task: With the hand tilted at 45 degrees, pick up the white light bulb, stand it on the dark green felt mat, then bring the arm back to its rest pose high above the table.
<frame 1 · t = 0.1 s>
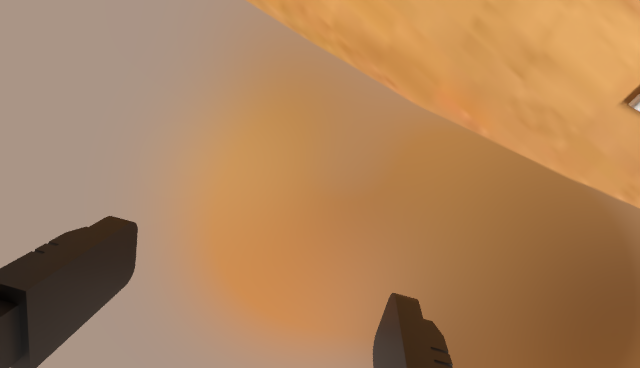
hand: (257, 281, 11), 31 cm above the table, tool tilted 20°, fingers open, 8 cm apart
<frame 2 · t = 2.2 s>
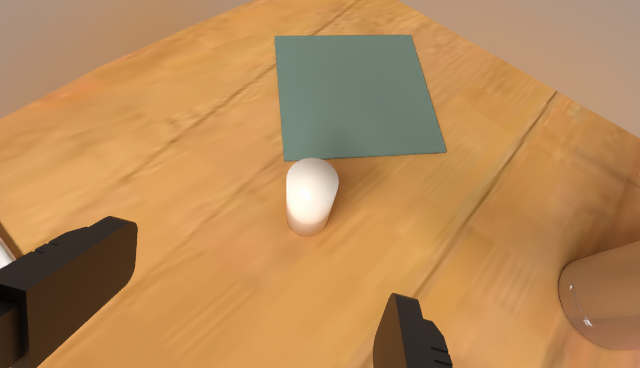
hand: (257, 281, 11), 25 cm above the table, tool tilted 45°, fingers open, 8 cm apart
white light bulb: (307, 216, 38), on the table
felt mat: (354, 91, 46), on the table
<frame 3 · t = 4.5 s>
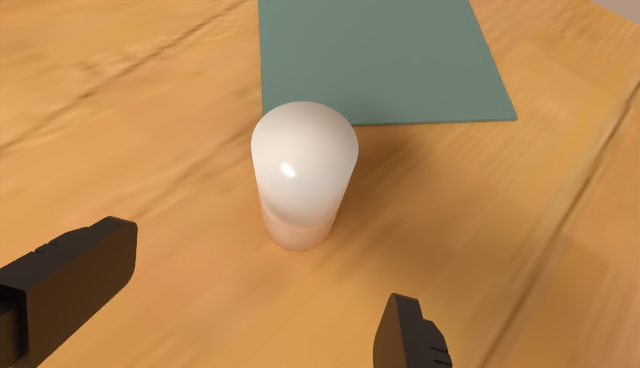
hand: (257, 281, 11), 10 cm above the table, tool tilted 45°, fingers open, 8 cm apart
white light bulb: (298, 217, 23), on the table
felt mat: (373, 31, 31), on the table
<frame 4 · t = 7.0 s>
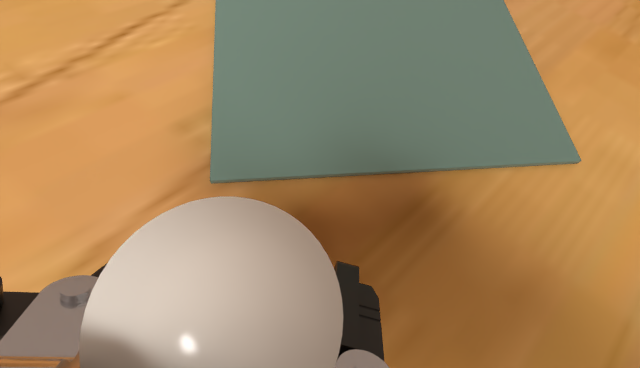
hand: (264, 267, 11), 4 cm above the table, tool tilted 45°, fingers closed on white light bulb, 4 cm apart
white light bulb: (255, 333, 14), on the table, touching gripper
felt mat: (374, 35, 22), on the table
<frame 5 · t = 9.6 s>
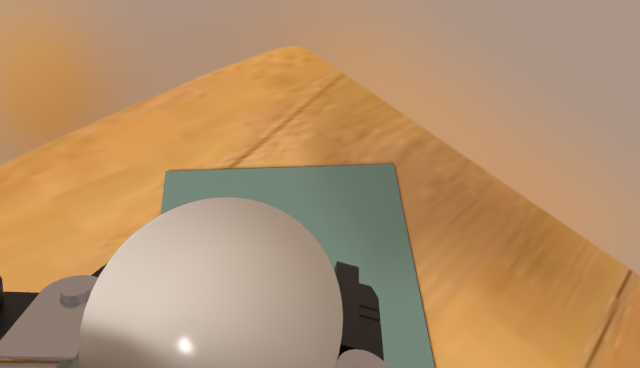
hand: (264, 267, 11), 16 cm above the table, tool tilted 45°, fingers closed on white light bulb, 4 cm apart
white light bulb: (255, 333, 14), point 12 cm above the table, touching gripper
felt mat: (290, 284, 27), on the table
when the fingers open (5 cm above the table, at t = 12.4 s): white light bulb drops 1 cm, resting on felt mat.
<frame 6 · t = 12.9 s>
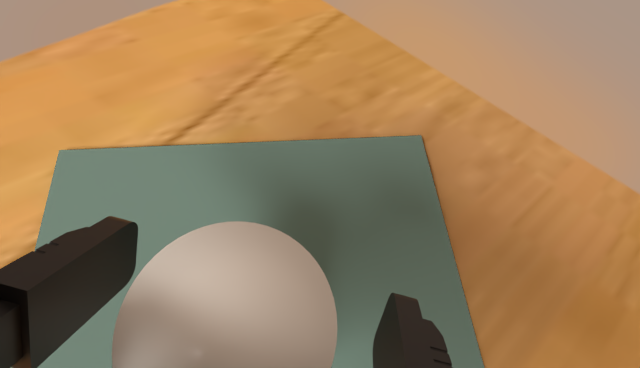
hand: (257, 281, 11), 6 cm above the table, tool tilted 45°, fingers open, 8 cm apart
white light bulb: (258, 337, 15), resting on felt mat
felt mat: (257, 335, 16), on the table
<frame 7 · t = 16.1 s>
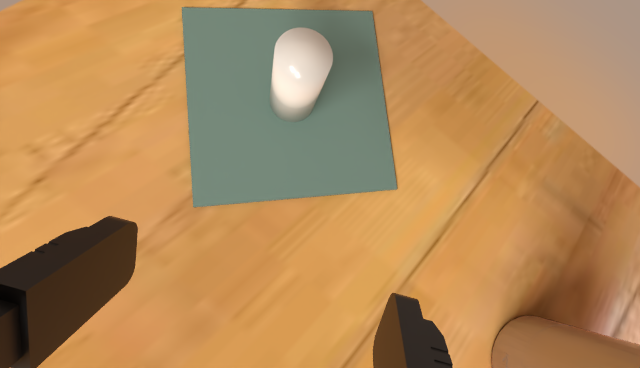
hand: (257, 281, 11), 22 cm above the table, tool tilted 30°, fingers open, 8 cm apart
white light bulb: (291, 100, 35), resting on felt mat
felt mat: (291, 100, 35), on the table
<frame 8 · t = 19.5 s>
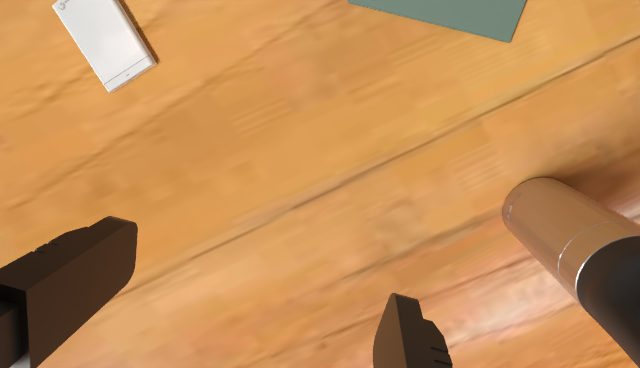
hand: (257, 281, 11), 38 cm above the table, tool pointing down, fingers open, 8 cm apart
hard drive: (111, 36, 47), on the table
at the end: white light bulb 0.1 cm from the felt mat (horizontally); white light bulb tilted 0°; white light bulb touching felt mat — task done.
